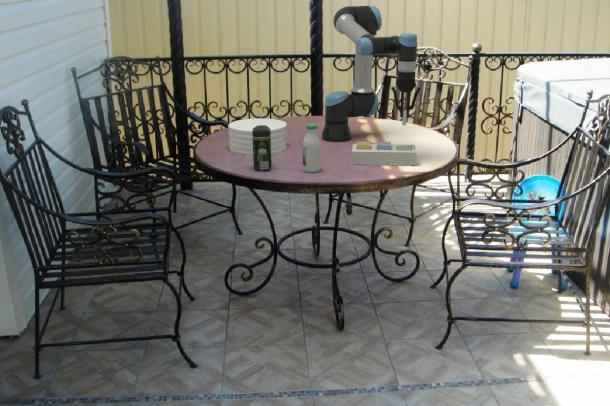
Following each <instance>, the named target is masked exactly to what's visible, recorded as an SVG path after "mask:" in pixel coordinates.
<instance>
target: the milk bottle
mask: <svg viewBox="0 0 610 406" xmlns="http://www.w3.org/2000/svg"><path fill="white" fill-rule="evenodd" d="M305 129H306V133H305V136H304V139H303V142H302V170H303V172H306V173H318V172H320V171H321V170H322V169H321V165H322V163H321V159H322V158H321V157H322V155H321V154H322V153H321V152H322V151H321V146H322V145H321V140H320V137H319V135H318V133H317V130H318V124H316V123H307V124H306V125H305Z"/></svg>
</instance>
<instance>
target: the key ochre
mask: <svg viewBox="0 0 610 406" xmlns="http://www.w3.org/2000/svg"><path fill="white" fill-rule="evenodd" d="M356 144H357V149H359V150H371V144H372V142H371V141H357V142H356Z"/></svg>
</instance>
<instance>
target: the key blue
mask: <svg viewBox="0 0 610 406" xmlns="http://www.w3.org/2000/svg"><path fill="white" fill-rule="evenodd" d="M376 144H377V150H391V144H392V143H391V141H377V142H376Z"/></svg>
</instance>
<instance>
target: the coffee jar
mask: <svg viewBox="0 0 610 406" xmlns="http://www.w3.org/2000/svg"><path fill="white" fill-rule="evenodd" d="M252 141H253V155H252V157H253V158H252V160H253V169H254V170H255V171H260V172H264V171H270V170H271V169H272V166H273V165H272V154H271V133H270V128H269V127H267V126H266V125H258V126H256V127H254V128H253V130H252Z"/></svg>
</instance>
